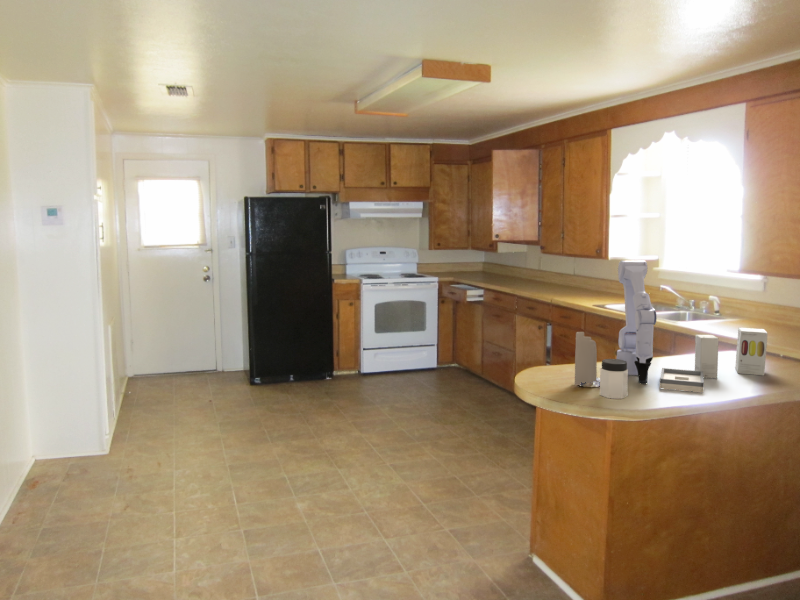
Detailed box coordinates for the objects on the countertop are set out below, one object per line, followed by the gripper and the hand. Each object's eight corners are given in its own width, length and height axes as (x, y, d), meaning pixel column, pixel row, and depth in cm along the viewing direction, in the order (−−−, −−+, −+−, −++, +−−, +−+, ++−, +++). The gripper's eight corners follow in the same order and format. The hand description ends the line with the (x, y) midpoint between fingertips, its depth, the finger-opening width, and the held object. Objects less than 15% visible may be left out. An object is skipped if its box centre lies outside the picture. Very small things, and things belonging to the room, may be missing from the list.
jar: (606, 390, 222) (607, 357, 221) (629, 394, 217) (631, 360, 216) (596, 396, 216) (597, 361, 214) (619, 400, 210) (621, 365, 209)
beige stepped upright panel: (616, 387, 227) (618, 332, 224) (577, 387, 227) (579, 332, 224) (609, 382, 234) (611, 328, 232) (572, 382, 234) (573, 329, 231)
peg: (637, 383, 232) (638, 364, 231) (638, 381, 235) (639, 362, 234) (647, 384, 231) (647, 365, 230) (647, 382, 234) (648, 363, 233)
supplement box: (737, 373, 246) (739, 330, 244) (734, 368, 254) (737, 327, 252) (765, 375, 242) (768, 332, 240) (761, 370, 251) (764, 328, 248)
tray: (659, 388, 225) (660, 378, 224) (661, 376, 241) (662, 367, 241) (703, 392, 219) (703, 382, 219) (702, 380, 235) (702, 371, 235)
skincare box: (717, 379, 237) (719, 338, 235) (698, 378, 239) (700, 337, 237) (711, 373, 246) (713, 334, 244) (693, 373, 247) (695, 333, 245)
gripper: (634, 337, 239) (633, 372, 241) (631, 344, 226) (629, 381, 228) (654, 339, 236) (652, 374, 238) (652, 346, 223) (650, 383, 225)
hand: (642, 378), depth 233 cm, fingers open, 7 cm apart
